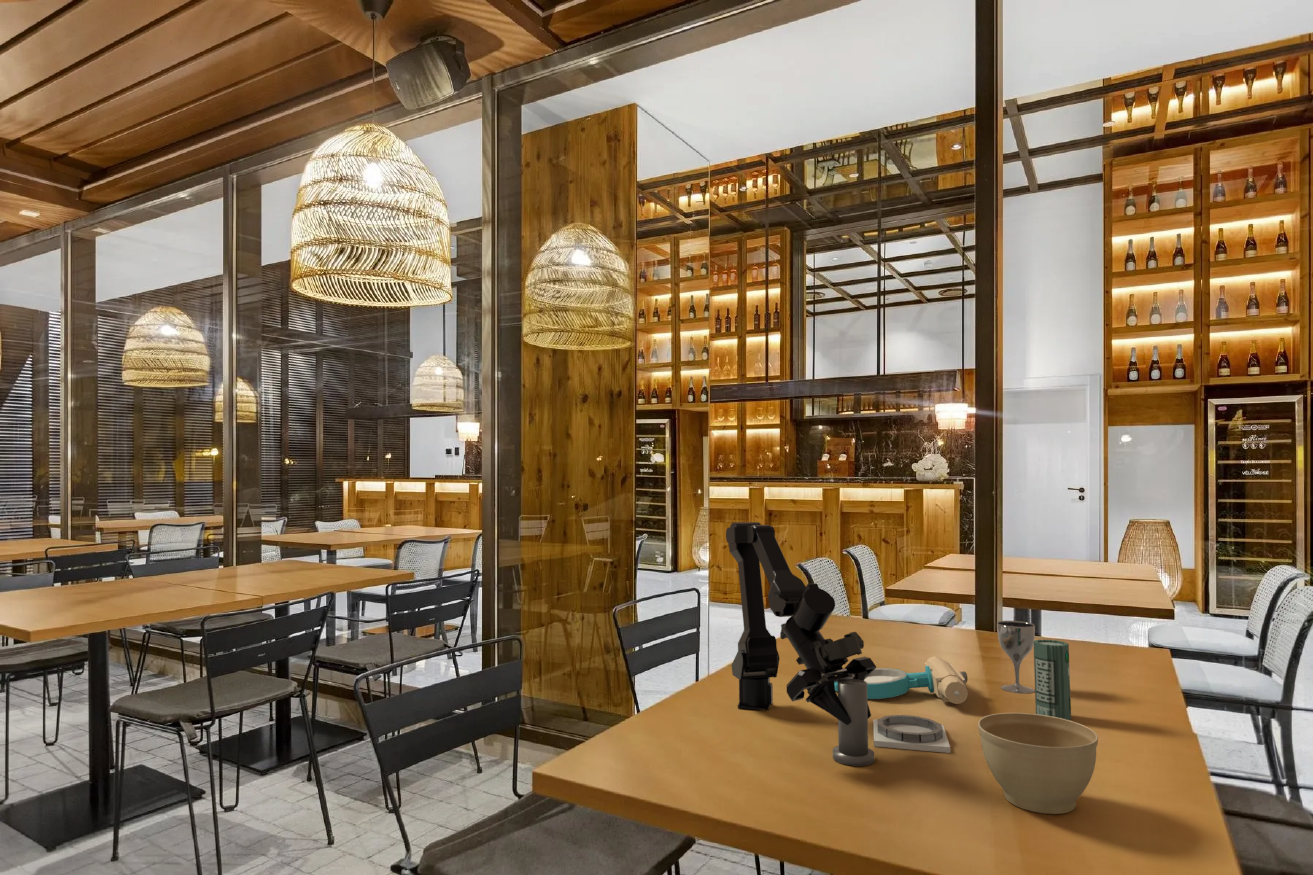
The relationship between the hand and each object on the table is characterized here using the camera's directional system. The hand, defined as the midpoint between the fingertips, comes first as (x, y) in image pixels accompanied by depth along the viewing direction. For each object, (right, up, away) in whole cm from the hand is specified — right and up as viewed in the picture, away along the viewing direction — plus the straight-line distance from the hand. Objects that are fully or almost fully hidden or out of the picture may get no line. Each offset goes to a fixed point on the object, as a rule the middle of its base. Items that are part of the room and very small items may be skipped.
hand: (859, 720), depth 131 cm
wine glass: (+49, -10, +45) cm, 67 cm away
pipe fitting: (-1, -7, +1) cm, 7 cm away
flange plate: (+13, -8, +12) cm, 19 cm away
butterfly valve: (+20, -10, +42) cm, 47 cm away
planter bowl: (+22, -6, -17) cm, 29 cm away
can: (+46, -8, +24) cm, 53 cm away
